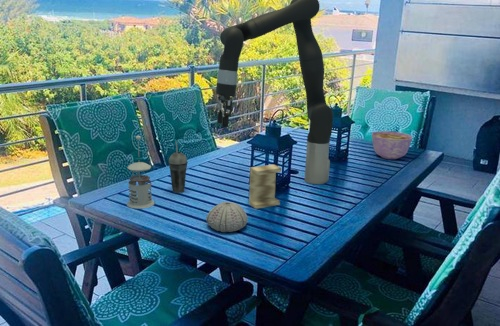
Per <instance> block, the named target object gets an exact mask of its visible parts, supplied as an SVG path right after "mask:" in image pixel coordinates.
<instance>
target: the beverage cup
mask: <svg viewBox="0 0 500 326" xmlns="http://www.w3.org/2000/svg"><path fill="white" fill-rule="evenodd" d="M175 151H176V152H173V153H172V154H171V155H170V157H169V158H168V167H169V171H170V181H171V188H172V189H171V190H172V193H174V194H183V193H184V192H185V188H186V187H185V186H186V178H187V177H186V176H187V175H186V174H187V167H188V164H189V163H188V158H187V156H186V155H185V154H184V153H183V152H180V151H178V141H175Z"/></svg>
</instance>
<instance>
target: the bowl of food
mask: <svg viewBox="0 0 500 326" xmlns="http://www.w3.org/2000/svg"><path fill="white" fill-rule="evenodd" d="M371 139H372V140H371V141H372V145H373V146H372V147H373V151H374V152H375V153H376V154H377V155H378V156H379V157H381V158H382V159H385V160H398V159H399V158H402V157H404V156H405V155H407V153H408V151H409V148H410V145H411V144H412V140H413V136H412V135H411V134H408V133H404V132H399V131H390V130H382V131H381V130H380V131H373V132H372V133H371Z"/></svg>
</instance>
